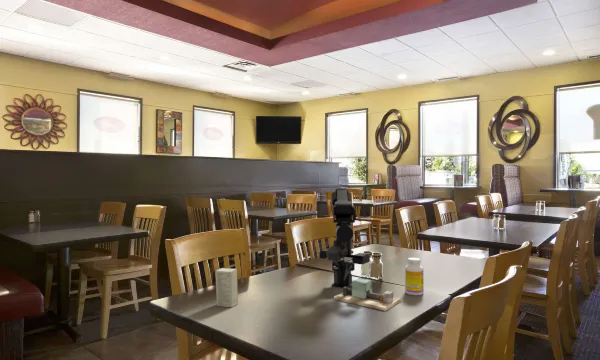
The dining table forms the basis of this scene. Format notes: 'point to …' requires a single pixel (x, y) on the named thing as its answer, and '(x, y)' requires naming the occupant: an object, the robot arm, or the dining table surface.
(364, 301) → the cable board
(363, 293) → the mint green cube
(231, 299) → the skincare box
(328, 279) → the dining table surface
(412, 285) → the supplement bottle
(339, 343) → the dining table surface
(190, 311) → the dining table surface
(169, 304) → the dining table surface
